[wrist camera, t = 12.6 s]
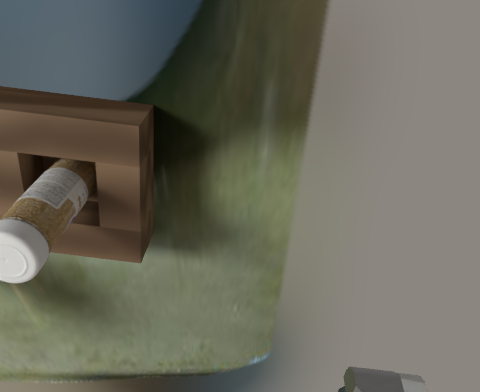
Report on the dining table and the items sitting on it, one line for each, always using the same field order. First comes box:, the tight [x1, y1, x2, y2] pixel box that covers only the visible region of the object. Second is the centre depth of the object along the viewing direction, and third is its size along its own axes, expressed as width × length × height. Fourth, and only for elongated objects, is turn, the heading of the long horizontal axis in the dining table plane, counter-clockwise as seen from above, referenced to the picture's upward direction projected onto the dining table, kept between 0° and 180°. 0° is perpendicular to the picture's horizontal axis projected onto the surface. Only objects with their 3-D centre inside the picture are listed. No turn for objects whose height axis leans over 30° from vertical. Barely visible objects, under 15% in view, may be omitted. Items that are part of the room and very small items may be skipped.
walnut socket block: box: [0, 86, 154, 263], centre depth 41 cm, size 14×14×5 cm
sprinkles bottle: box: [0, 158, 97, 283], centre depth 36 cm, size 5×5×14 cm
